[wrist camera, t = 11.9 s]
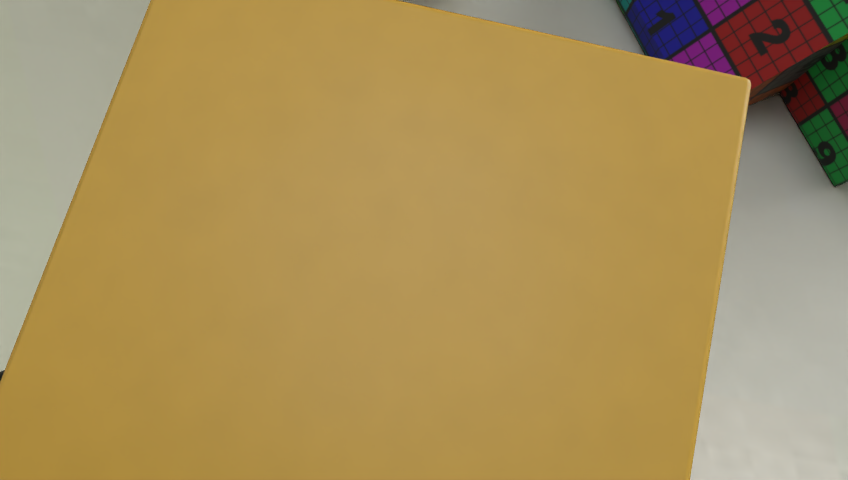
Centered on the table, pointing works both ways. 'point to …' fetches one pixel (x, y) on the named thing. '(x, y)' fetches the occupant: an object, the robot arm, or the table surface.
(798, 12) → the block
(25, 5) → the table surface
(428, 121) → the yellow block
